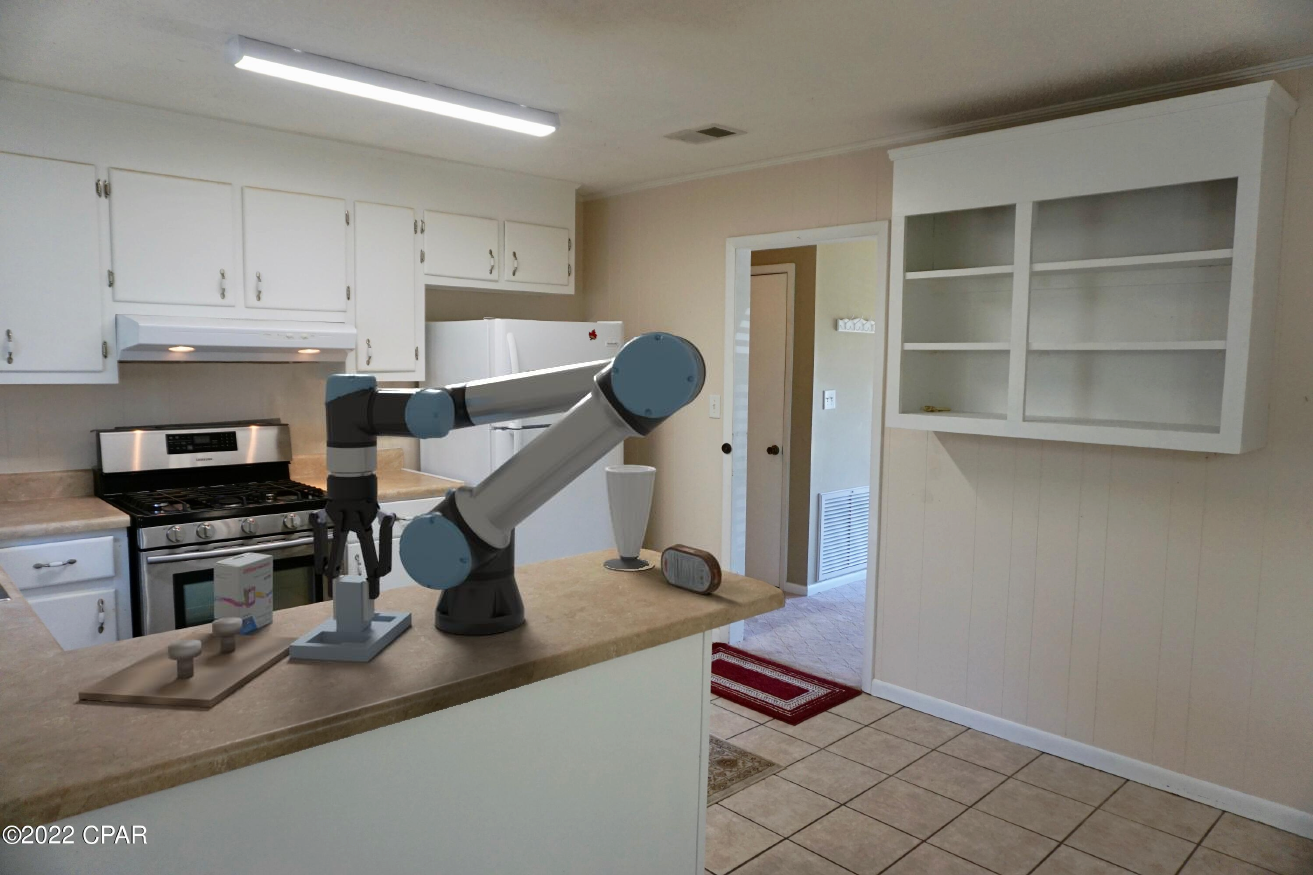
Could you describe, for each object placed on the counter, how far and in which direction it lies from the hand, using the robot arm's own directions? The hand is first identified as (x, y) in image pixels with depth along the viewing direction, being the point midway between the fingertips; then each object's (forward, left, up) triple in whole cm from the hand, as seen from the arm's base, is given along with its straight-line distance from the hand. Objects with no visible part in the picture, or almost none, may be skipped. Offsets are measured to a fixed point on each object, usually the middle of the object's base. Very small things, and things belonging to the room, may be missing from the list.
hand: (354, 617), depth 135 cm
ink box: (+20, -3, -4) cm, 21 cm away
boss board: (+16, +15, -4) cm, 22 cm away
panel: (0, 0, -4) cm, 4 cm away
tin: (-52, -38, -4) cm, 65 cm away
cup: (-38, -55, -4) cm, 67 cm away
